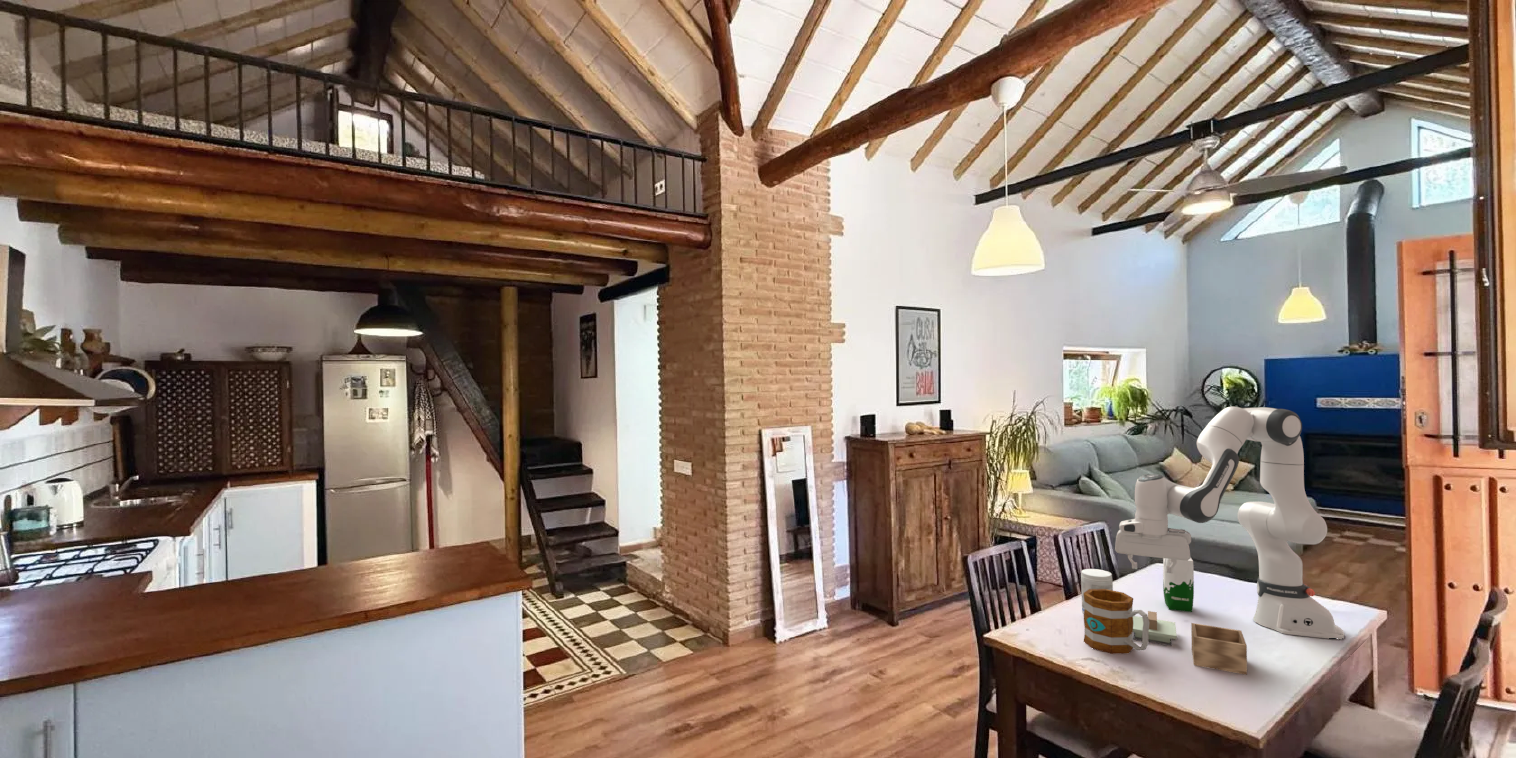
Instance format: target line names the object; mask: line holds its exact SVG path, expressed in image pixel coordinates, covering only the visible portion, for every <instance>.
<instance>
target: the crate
mask: <svg viewBox="0 0 1516 758" xmlns="http://www.w3.org/2000/svg"><path fill="white" fill-rule="evenodd" d="M1190 623H1191V625H1190V626H1191V627H1190V628H1191V629H1190V630H1191V632H1190V633H1191V656H1192V660H1193V661H1192V662H1193V665H1194V666H1197V667H1200V668H1201V667H1203V668H1207V669H1213V670H1216V671H1217V670H1218V671H1223V672H1230V673H1235V674H1240V675H1245V676H1247V675H1248V653H1247V652H1248V646H1247V643H1246V640H1245V637H1244V634H1243V631H1242V630H1239V629H1232V628H1227V627H1226V628H1225V627H1220V626H1214V625H1207V624H1201V623H1194V622H1190Z"/></svg>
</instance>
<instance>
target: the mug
mask: <svg viewBox="0 0 1516 758" xmlns="http://www.w3.org/2000/svg"><path fill="white" fill-rule="evenodd" d="M1083 594H1084V603H1085V609H1084V614H1083V625H1084V636H1083V643H1084V642H1085V644H1086V645H1087V646H1088V647H1089V648H1091V649H1092V648H1093V649H1092V650H1095V649H1096V650H1095V651H1100V652H1103V653H1107V654H1111V655H1115V654H1116V655H1118V654H1121V655H1123V654H1124V655H1125V654H1128V655H1129V654H1130V653H1132V651H1133V649H1134V650H1136V651H1145V650H1146V649H1147V648H1148V646H1149V642H1148V638H1149V619H1148V613H1146V612H1145V611H1143V610H1142V609H1134V610H1133V605H1134V604H1133V603H1134V598H1133V597H1132V596H1130V595H1128V594H1127V593H1125V592H1123V591H1117V590H1114V589H1113V590H1108V589H1088V590H1087V591H1086V592H1084V593H1083ZM1137 615H1140V617H1142V618H1143V630H1142V641H1141V644H1140V645H1138V644H1137V643H1136V642H1134V641H1133V640H1134V639H1133V638H1134V636H1133V633H1134V632H1133V616H1137Z"/></svg>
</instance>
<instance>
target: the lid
mask: <svg viewBox="0 0 1516 758" xmlns="http://www.w3.org/2000/svg"><path fill="white" fill-rule="evenodd" d="M1157 612H1158V611H1157ZM1157 612H1155V611H1151V610H1148V611H1147V616H1148V619H1149V638H1148V639H1150V640H1156V641H1162V642H1167V643H1170V638H1171V640H1177V639H1178V637H1177V626H1176V622H1174V621H1169V620H1162V619H1158V613H1157ZM1142 630H1143V618H1142V616H1138V615H1135V616H1133V632H1132V633H1134V632H1135V637H1138V638H1142Z"/></svg>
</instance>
